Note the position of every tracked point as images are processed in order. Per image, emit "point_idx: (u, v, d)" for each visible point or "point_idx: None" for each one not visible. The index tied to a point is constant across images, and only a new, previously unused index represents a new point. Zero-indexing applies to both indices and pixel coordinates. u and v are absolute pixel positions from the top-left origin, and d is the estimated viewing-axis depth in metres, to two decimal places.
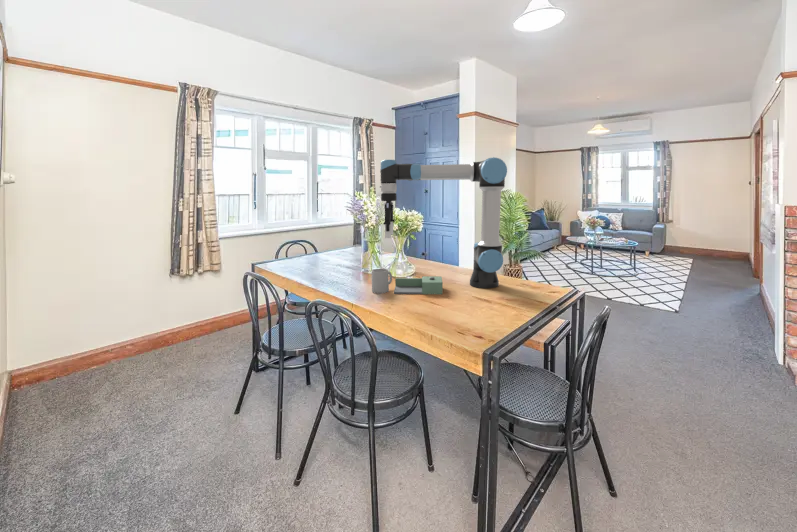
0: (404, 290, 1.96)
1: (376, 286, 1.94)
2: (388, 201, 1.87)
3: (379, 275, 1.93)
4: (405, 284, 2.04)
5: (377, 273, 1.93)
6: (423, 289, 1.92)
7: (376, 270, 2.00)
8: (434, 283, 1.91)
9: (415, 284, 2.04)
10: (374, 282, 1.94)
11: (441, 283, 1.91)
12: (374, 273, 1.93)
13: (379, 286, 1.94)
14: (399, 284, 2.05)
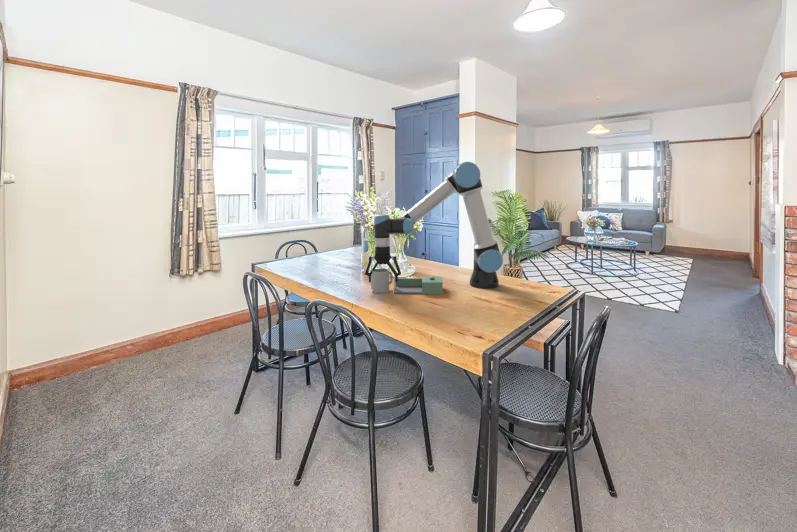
0: (404, 290, 1.96)
1: (377, 286, 1.94)
2: None
3: (379, 275, 1.93)
4: (405, 284, 2.04)
5: (378, 273, 1.93)
6: (423, 289, 1.92)
7: (377, 270, 2.00)
8: (434, 283, 1.91)
9: (415, 284, 2.04)
10: (375, 282, 1.94)
11: (441, 283, 1.91)
12: (375, 273, 1.93)
13: (379, 286, 1.94)
14: (399, 284, 2.05)
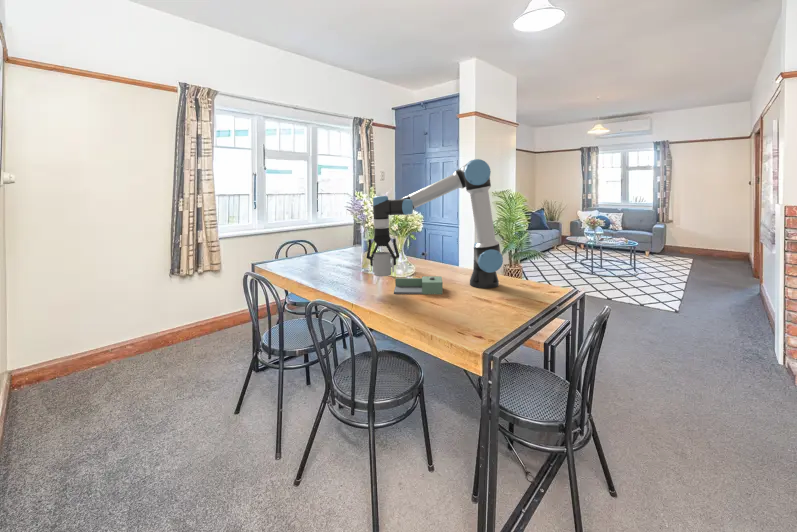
0: (404, 290, 1.96)
1: (379, 269, 1.92)
2: None
3: (381, 258, 1.91)
4: (405, 284, 2.04)
5: (379, 256, 1.91)
6: (423, 289, 1.92)
7: (378, 253, 1.98)
8: (434, 283, 1.91)
9: (415, 284, 2.04)
10: (376, 265, 1.93)
11: (441, 283, 1.91)
12: (376, 256, 1.92)
13: (381, 269, 1.92)
14: (399, 284, 2.05)
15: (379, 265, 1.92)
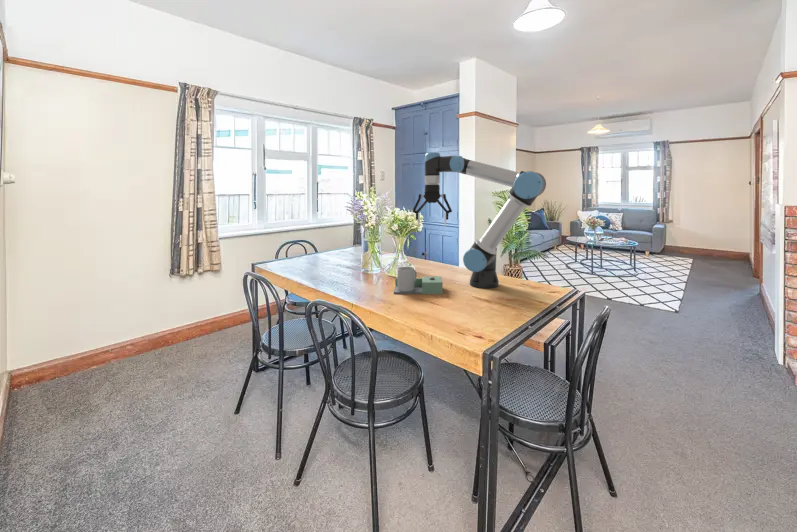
0: None
1: (403, 284, 1.93)
2: None
3: (406, 274, 1.91)
4: None
5: (404, 271, 1.91)
6: (423, 289, 1.92)
7: (401, 268, 1.98)
8: (434, 283, 1.91)
9: (415, 284, 2.04)
10: (401, 280, 1.93)
11: (441, 283, 1.91)
12: (401, 271, 1.92)
13: (406, 284, 1.92)
14: None
15: (403, 280, 1.92)
